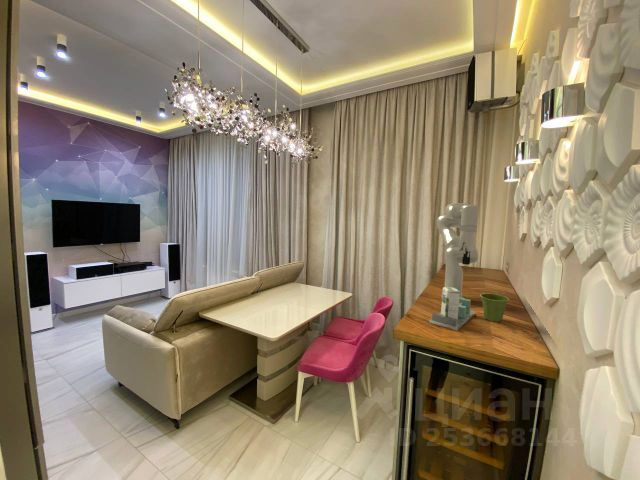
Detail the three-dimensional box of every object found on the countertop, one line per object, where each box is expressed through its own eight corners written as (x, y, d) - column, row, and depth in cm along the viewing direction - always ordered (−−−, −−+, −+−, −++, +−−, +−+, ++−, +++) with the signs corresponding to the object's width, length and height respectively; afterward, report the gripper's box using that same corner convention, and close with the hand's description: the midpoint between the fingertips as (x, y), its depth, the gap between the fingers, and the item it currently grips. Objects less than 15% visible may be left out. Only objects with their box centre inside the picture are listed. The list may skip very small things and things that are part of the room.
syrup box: (440, 316, 129) (442, 286, 127) (452, 316, 128) (454, 287, 127) (445, 320, 123) (447, 290, 122) (458, 321, 123) (460, 290, 121)
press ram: (450, 306, 141) (451, 295, 140) (471, 311, 134) (472, 300, 134) (442, 312, 133) (442, 300, 132) (463, 318, 126) (464, 306, 125)
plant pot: (473, 314, 135) (474, 293, 134) (494, 314, 136) (496, 293, 135) (490, 324, 123) (491, 301, 122) (513, 323, 124) (515, 300, 123)
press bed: (450, 308, 144) (450, 300, 144) (474, 314, 136) (475, 305, 135) (429, 322, 124) (430, 313, 124) (456, 330, 116) (457, 320, 116)
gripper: (464, 228, 144) (462, 261, 146) (455, 229, 134) (453, 265, 136) (480, 229, 139) (477, 263, 141) (472, 230, 129) (469, 267, 130)
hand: (465, 264), depth 138 cm, fingers closed
